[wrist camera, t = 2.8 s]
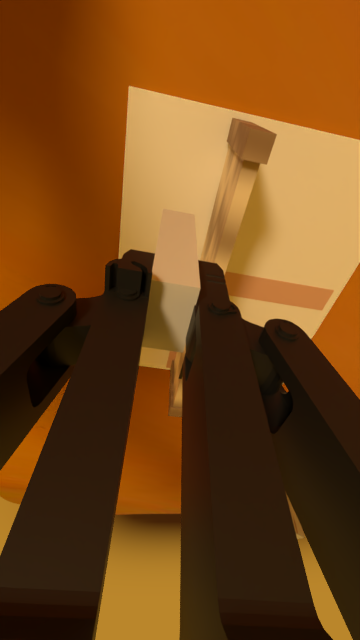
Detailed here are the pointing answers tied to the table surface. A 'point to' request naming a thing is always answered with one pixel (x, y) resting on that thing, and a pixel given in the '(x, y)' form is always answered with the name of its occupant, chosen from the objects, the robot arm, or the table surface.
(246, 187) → the fence flap
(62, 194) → the table surface
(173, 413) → the fence fixed
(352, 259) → the card
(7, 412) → the robot arm
